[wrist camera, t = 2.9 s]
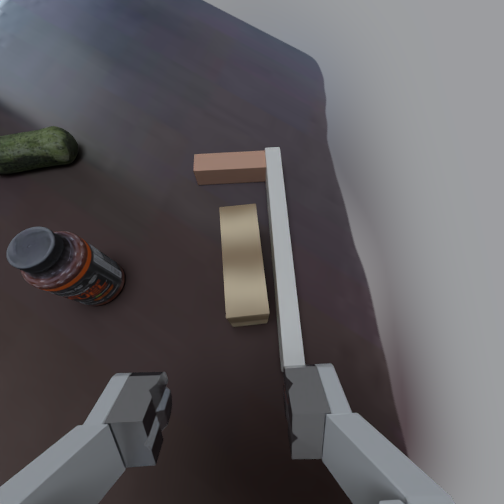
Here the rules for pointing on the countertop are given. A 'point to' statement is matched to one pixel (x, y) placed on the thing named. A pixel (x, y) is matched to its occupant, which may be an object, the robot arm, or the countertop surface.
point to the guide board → (270, 170)
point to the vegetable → (36, 150)
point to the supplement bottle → (65, 266)
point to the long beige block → (243, 266)
